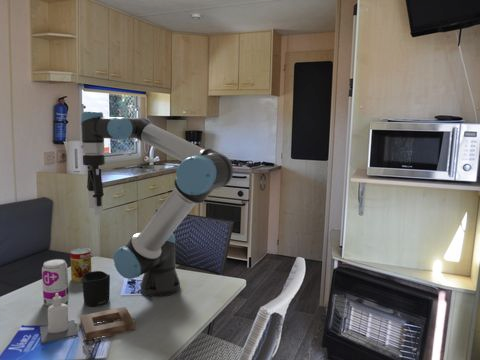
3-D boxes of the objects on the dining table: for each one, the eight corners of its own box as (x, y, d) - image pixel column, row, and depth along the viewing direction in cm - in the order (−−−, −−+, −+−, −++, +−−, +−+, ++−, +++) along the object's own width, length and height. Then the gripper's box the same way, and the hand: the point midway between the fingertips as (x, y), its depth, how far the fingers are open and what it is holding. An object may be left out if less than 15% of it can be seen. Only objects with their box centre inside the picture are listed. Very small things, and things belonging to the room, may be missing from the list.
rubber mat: (74, 321, 131) (74, 319, 131) (77, 335, 123) (77, 334, 122) (39, 328, 126) (39, 326, 126) (41, 343, 118) (41, 341, 118)
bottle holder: (125, 313, 137) (125, 306, 137) (134, 330, 126) (134, 322, 126) (80, 322, 130) (80, 315, 130) (86, 341, 120) (85, 333, 119)
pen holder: (80, 308, 141) (79, 281, 139) (86, 297, 150) (85, 271, 148) (108, 307, 142) (107, 280, 141) (112, 295, 151) (111, 270, 150)
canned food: (87, 282, 164) (86, 253, 162) (68, 281, 164) (66, 253, 162) (94, 275, 171) (93, 247, 170) (76, 274, 172) (75, 247, 170)
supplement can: (59, 308, 140) (57, 267, 138) (38, 306, 142) (36, 265, 140) (73, 298, 148) (71, 259, 146) (53, 296, 150) (51, 257, 148)
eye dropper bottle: (54, 326, 127) (52, 290, 125) (70, 327, 126) (69, 291, 125) (46, 333, 123) (43, 295, 121) (63, 334, 122) (61, 296, 120)
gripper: (78, 152, 156) (80, 205, 159) (88, 157, 135) (90, 219, 138) (98, 151, 160) (100, 204, 163) (111, 156, 138) (112, 216, 141)
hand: (95, 211), depth 150 cm, fingers open, 13 cm apart
